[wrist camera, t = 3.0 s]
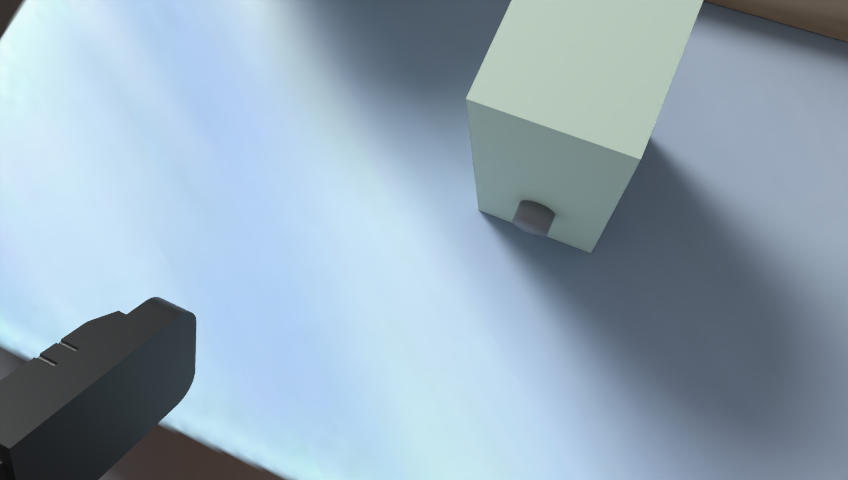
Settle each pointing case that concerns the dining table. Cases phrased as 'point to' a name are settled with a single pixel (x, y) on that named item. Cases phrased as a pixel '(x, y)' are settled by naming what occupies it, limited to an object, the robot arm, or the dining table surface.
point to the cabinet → (571, 108)
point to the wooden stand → (798, 14)
